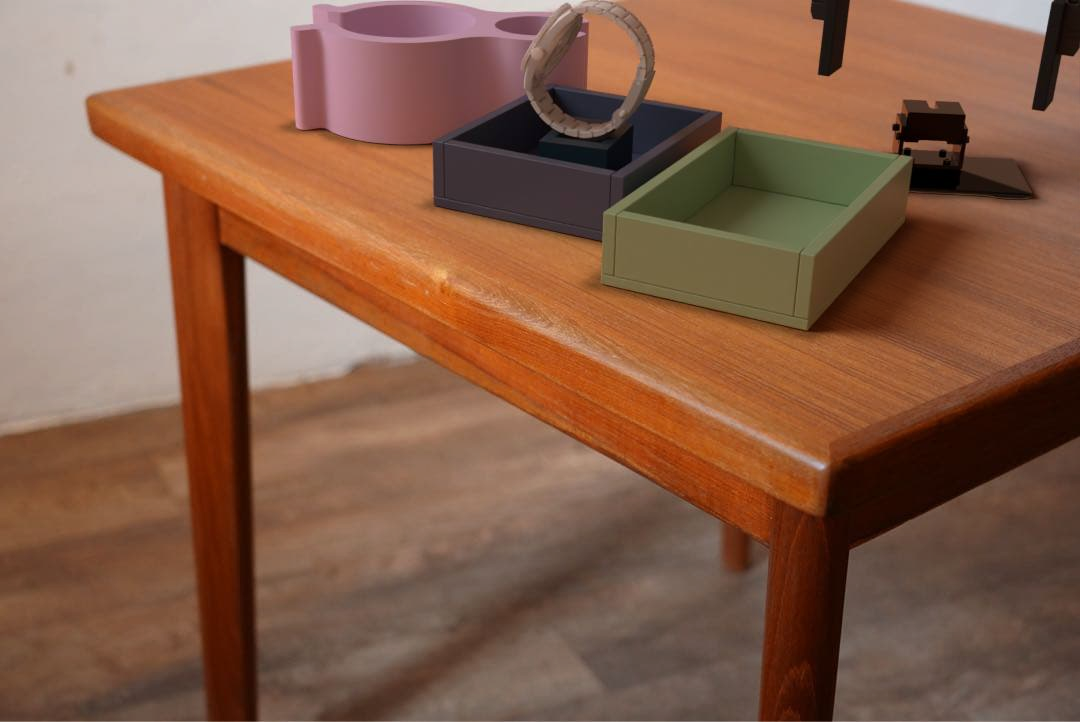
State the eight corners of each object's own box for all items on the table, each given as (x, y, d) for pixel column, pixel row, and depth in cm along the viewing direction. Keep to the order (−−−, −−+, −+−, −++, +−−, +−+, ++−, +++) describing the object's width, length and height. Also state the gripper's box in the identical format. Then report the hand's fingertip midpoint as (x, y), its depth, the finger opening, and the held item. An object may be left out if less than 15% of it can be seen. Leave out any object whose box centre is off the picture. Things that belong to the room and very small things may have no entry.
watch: (538, 159, 94) (541, -12, 89) (658, 174, 91) (667, -1, 86) (507, 186, 89) (508, 7, 84) (632, 203, 87) (641, 20, 82)
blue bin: (718, 173, 94) (722, 111, 92) (620, 245, 82) (623, 177, 80) (547, 141, 99) (548, 82, 97) (433, 205, 87) (432, 140, 86)
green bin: (904, 222, 86) (913, 156, 84) (807, 331, 72) (815, 255, 70) (723, 188, 91) (728, 125, 89) (600, 283, 77) (602, 212, 75)
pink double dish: (589, 100, 108) (592, 7, 105) (578, 152, 97) (581, 50, 94) (326, 88, 109) (321, -4, 106) (285, 139, 98) (279, 38, 95)
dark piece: (1011, 164, 97) (1024, 96, 94) (1032, 202, 90) (1046, 130, 88) (824, 152, 98) (832, 85, 96) (831, 189, 91) (840, 118, 89)
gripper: (1231, -268, 80) (1148, 104, 89) (801, -291, 90) (768, 45, 100) (1217, -261, 74) (1129, 137, 84) (758, -287, 84) (727, 70, 94)
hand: (932, 88), depth 92 cm, fingers open, 13 cm apart
